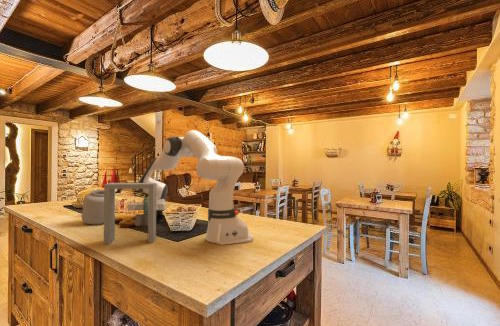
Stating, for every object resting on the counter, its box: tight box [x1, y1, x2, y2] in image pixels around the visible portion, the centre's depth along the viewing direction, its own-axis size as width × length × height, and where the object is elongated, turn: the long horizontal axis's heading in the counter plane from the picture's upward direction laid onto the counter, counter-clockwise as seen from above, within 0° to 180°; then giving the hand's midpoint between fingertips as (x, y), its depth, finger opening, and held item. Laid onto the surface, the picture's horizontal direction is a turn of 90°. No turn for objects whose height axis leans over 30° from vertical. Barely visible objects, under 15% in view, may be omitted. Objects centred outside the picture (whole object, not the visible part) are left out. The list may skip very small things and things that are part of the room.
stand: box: [103, 182, 157, 246], centre depth 112 cm, size 20×7×26 cm, turn 100°
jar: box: [81, 179, 104, 226], centre depth 143 cm, size 19×15×25 cm
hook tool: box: [134, 197, 148, 227], centre depth 141 cm, size 10×16×2 cm
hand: (144, 208), depth 137 cm, fingers open, 8 cm apart
